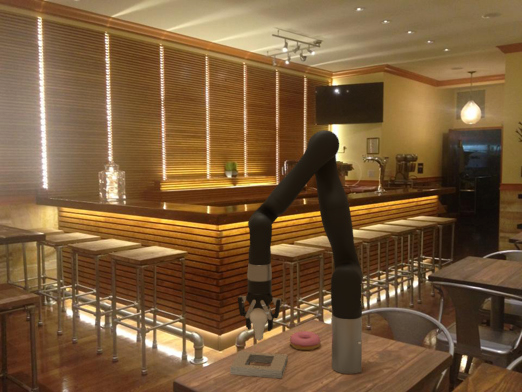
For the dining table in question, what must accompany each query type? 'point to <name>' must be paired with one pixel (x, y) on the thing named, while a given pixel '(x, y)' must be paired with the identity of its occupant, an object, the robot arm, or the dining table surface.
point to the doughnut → (305, 340)
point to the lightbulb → (258, 322)
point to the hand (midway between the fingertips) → (259, 329)
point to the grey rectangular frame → (274, 371)
